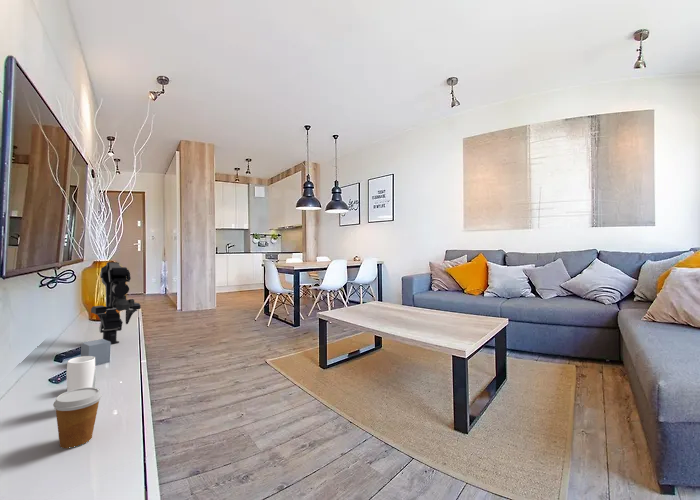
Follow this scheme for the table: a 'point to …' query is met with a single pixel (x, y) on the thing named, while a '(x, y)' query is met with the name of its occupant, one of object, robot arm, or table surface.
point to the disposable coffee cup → (76, 415)
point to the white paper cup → (80, 372)
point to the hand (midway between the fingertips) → (116, 325)
